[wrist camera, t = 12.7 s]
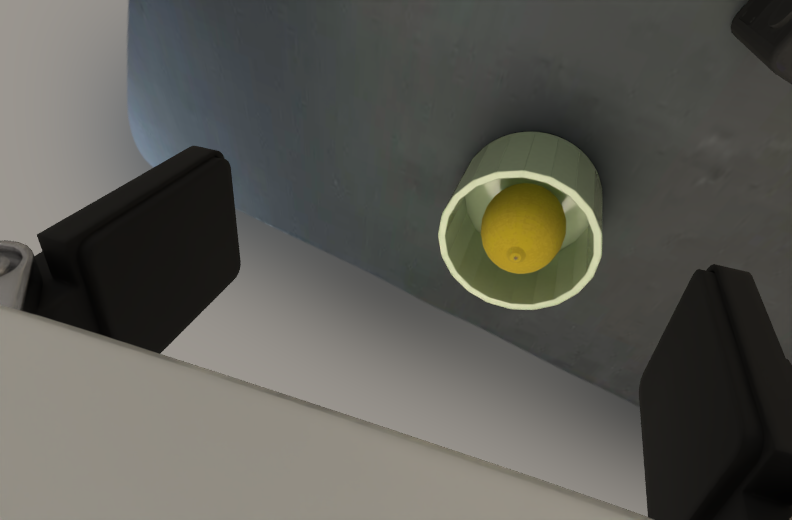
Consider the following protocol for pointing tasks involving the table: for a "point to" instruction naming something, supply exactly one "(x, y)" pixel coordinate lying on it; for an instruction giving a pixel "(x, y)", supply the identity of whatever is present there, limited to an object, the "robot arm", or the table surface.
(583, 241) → the cup
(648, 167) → the table surface
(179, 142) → the table surface
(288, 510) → the robot arm
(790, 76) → the walkie-talkie
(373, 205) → the table surface
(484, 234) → the lemon
